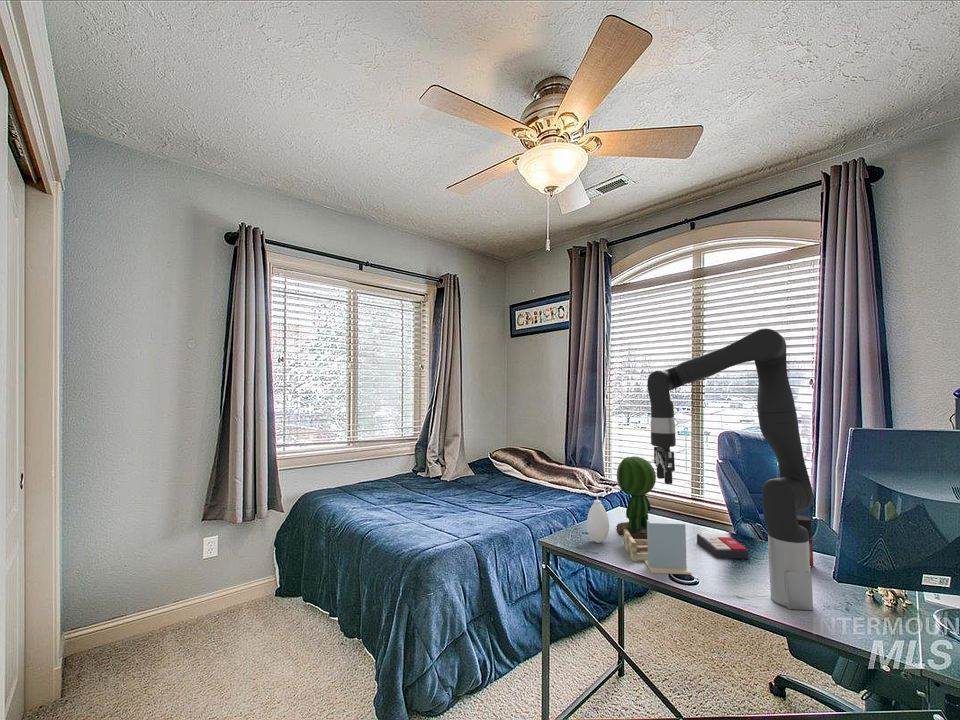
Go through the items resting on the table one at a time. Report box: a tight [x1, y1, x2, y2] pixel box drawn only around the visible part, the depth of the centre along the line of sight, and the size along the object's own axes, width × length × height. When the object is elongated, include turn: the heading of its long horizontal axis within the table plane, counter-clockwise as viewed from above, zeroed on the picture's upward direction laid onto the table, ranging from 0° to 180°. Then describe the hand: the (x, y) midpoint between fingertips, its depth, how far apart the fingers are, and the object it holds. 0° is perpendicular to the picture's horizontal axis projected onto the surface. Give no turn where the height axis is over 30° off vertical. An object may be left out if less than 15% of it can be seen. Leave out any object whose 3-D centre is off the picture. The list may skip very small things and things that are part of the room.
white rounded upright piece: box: [586, 493, 610, 544], centre depth 168 cm, size 8×8×18 cm
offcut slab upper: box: [636, 545, 648, 553], centre depth 155 cm, size 3×9×2 cm
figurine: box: [615, 456, 657, 539], centre depth 179 cm, size 17×20×30 cm
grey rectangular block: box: [647, 519, 688, 569], centre depth 144 cm, size 4×11×14 cm, turn 84°
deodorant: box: [796, 514, 814, 567], centre depth 147 cm, size 6×6×15 cm
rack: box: [623, 529, 648, 563], centre depth 156 cm, size 15×16×6 cm
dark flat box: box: [696, 532, 750, 559], centre depth 159 cm, size 11×4×15 cm
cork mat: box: [643, 560, 692, 575], centre depth 144 cm, size 9×12×1 cm
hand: (664, 481), depth 145 cm, fingers open, 8 cm apart
